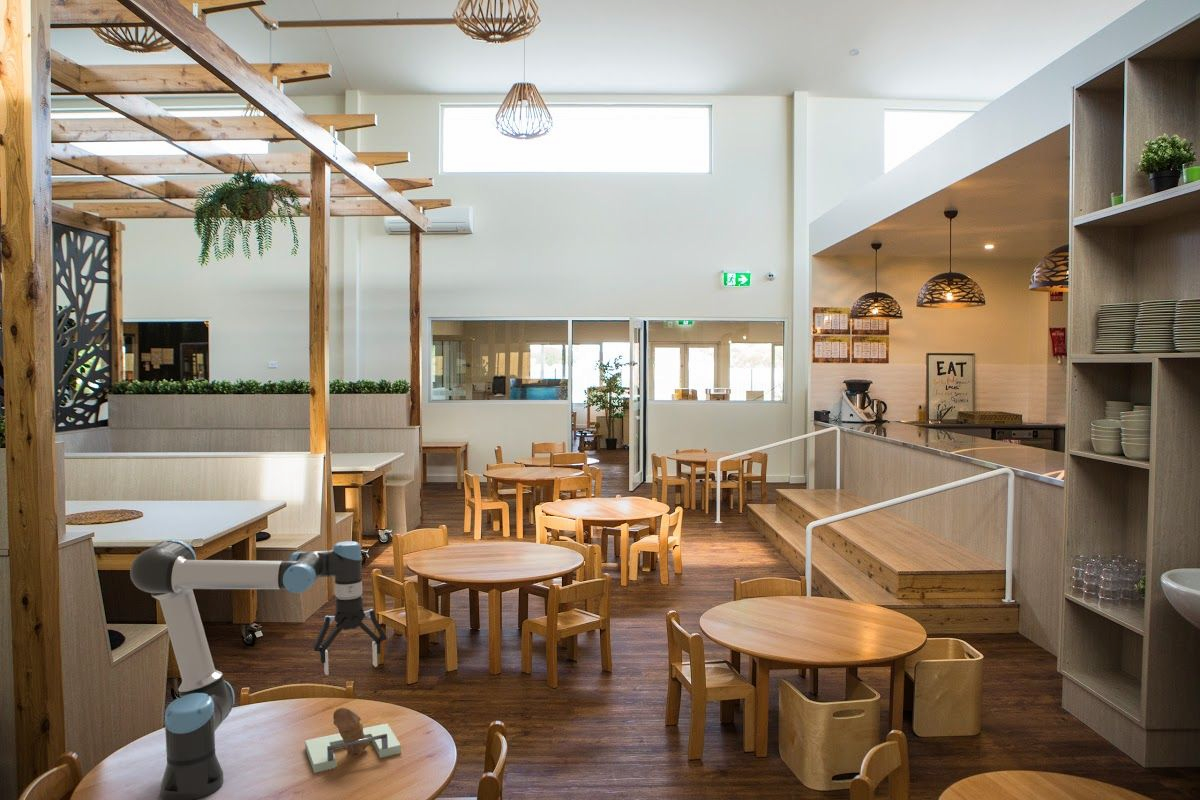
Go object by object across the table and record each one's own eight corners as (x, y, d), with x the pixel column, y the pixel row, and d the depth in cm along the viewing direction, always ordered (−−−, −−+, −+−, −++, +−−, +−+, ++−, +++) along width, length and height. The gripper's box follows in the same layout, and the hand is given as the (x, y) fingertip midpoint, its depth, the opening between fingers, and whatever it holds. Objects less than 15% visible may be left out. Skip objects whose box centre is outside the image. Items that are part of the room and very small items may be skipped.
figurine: (370, 748, 245) (368, 697, 245) (358, 761, 237) (357, 709, 237) (343, 747, 246) (341, 696, 246) (330, 760, 238) (328, 708, 238)
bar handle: (328, 761, 232) (327, 747, 232) (327, 759, 234) (327, 745, 233) (387, 748, 240) (387, 734, 240) (386, 746, 241) (386, 732, 241)
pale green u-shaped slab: (314, 772, 231) (313, 764, 231) (305, 748, 246) (305, 740, 246) (401, 753, 242) (400, 744, 242) (387, 730, 257) (387, 723, 257)
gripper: (305, 605, 231) (307, 681, 232) (395, 593, 243) (397, 665, 243) (301, 599, 238) (303, 672, 239) (389, 587, 249) (391, 657, 250)
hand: (351, 669), depth 241 cm, fingers open, 13 cm apart
